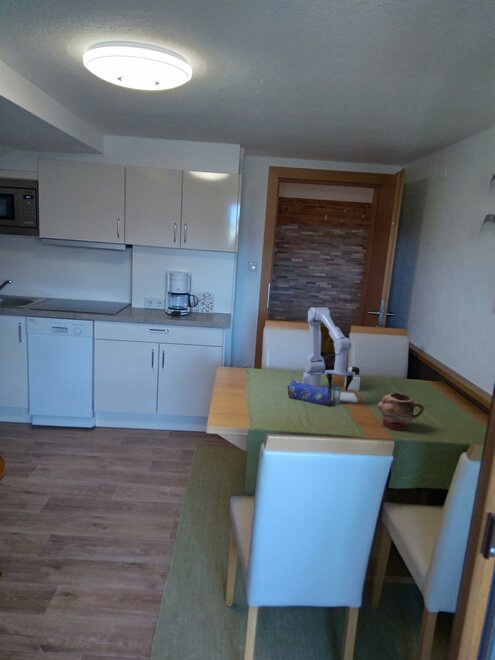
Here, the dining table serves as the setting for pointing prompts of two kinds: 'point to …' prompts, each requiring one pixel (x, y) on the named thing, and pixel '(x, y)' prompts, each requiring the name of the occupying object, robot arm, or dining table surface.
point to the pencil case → (309, 392)
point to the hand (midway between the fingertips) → (338, 389)
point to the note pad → (348, 397)
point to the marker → (337, 394)
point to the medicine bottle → (354, 379)
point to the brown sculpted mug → (398, 410)
